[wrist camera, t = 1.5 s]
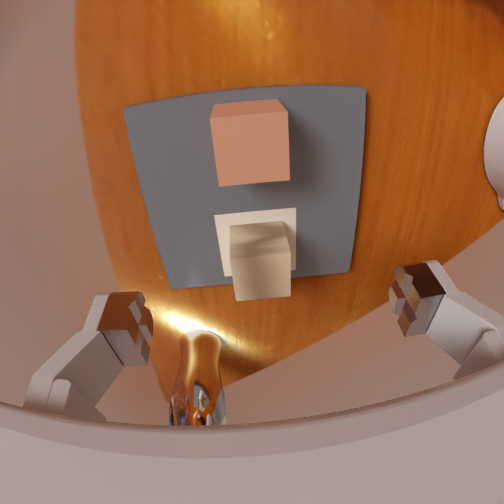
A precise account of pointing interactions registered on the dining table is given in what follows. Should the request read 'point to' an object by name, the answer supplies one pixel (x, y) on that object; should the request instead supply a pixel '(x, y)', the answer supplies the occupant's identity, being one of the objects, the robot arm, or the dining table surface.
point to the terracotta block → (250, 142)
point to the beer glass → (198, 382)
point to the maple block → (260, 261)
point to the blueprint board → (256, 194)
